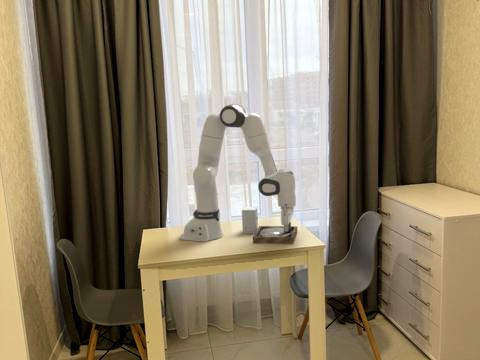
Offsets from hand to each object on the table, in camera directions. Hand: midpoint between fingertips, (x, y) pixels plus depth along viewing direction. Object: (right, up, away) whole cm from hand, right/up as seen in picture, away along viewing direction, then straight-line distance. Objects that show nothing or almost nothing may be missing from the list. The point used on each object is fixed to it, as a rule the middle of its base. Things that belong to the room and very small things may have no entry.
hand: (287, 228), depth 247 cm
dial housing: (-6, -5, +2) cm, 8 cm away
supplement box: (-18, -3, +15) cm, 24 cm away
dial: (-6, -3, +2) cm, 7 cm away
